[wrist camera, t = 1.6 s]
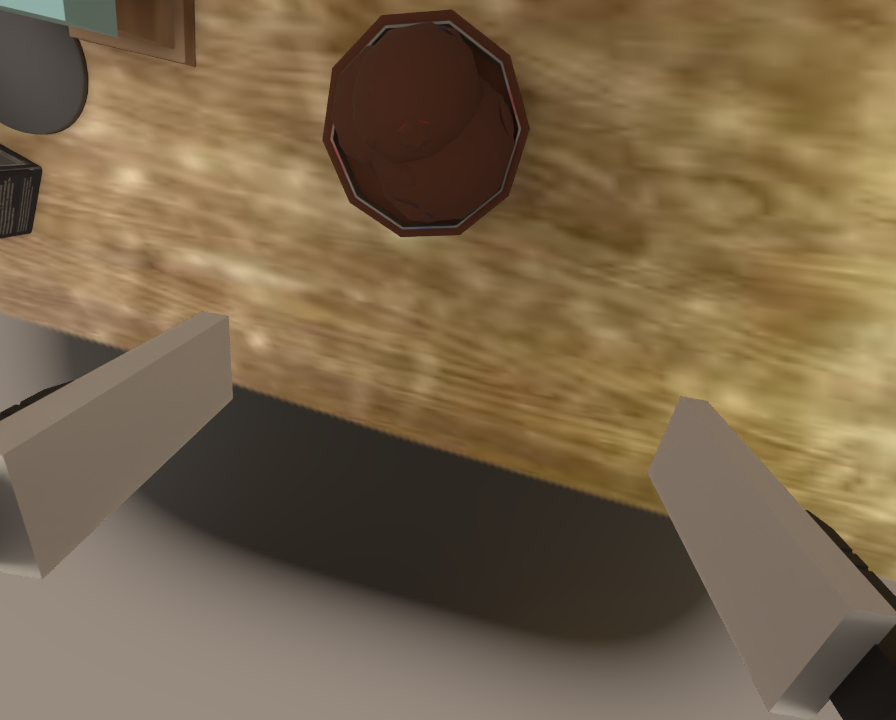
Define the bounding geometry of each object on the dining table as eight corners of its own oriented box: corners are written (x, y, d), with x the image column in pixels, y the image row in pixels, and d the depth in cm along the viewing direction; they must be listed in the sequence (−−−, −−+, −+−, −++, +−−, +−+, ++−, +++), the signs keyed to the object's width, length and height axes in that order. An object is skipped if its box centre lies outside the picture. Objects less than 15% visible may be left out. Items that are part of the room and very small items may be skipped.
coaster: (-69, -47, 30) (-79, -51, 30) (78, -12, 31) (70, -15, 30) (-33, 117, 35) (-42, 117, 34) (95, 147, 35) (89, 147, 34)
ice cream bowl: (335, 130, 33) (228, 111, 19) (455, 10, 29) (428, -117, 16) (427, 246, 36) (391, 302, 22) (546, 150, 32) (590, 145, 19)
